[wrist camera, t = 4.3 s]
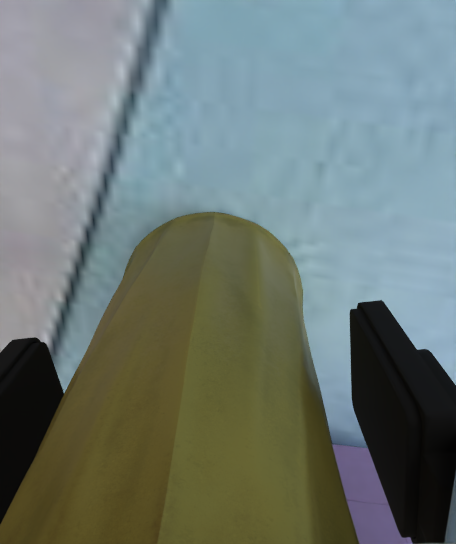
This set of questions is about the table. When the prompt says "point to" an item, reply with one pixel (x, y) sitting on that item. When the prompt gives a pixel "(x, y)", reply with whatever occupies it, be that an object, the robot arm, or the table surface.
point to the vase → (191, 407)
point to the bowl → (366, 497)
